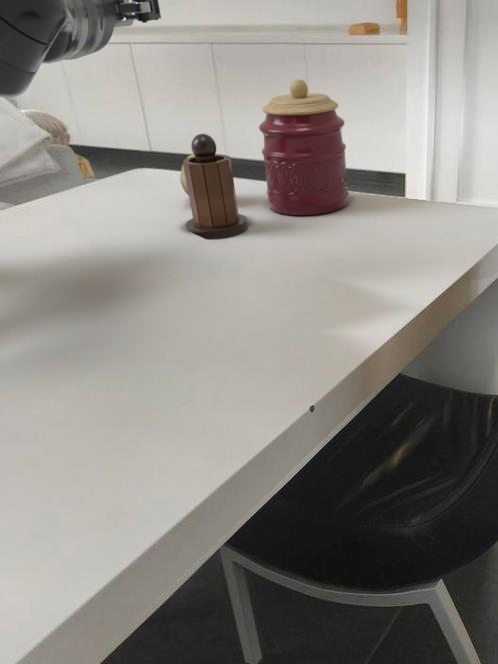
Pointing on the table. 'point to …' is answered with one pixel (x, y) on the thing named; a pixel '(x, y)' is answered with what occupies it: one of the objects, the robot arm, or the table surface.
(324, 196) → the kitchen canister
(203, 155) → the round-topped peg stand
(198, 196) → the wooden slatted cup
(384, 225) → the table surface
